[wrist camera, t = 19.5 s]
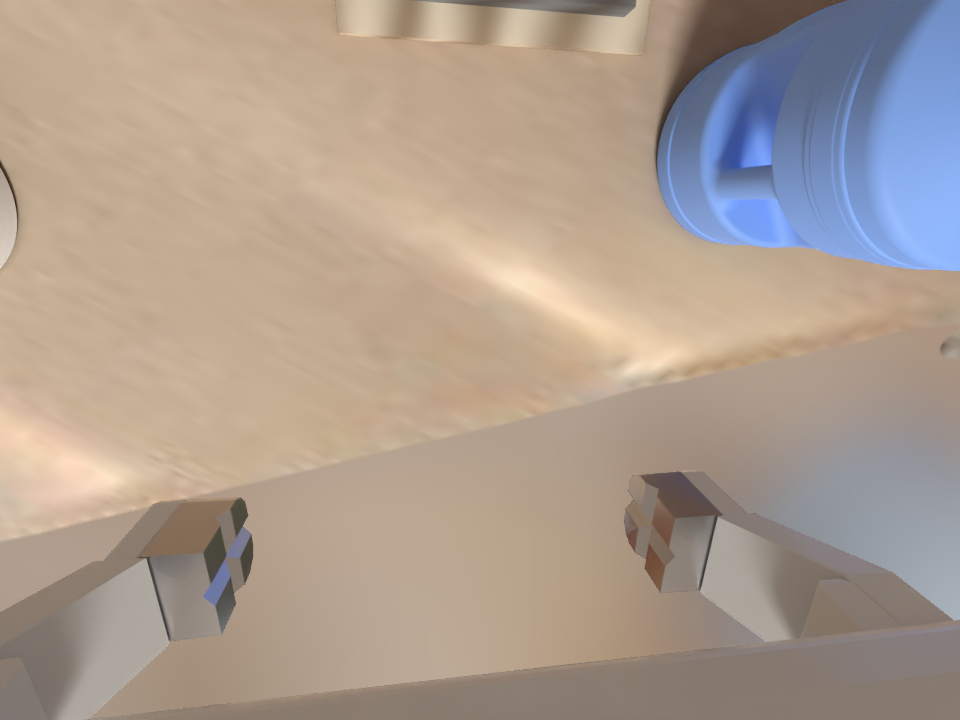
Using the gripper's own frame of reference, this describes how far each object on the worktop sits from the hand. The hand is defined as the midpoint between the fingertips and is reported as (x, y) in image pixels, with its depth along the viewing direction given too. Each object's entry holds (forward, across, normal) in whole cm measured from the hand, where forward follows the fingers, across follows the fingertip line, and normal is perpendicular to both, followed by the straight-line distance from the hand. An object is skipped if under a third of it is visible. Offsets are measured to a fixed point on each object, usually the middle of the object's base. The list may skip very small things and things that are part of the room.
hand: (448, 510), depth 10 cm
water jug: (+33, -28, -11) cm, 45 cm away
